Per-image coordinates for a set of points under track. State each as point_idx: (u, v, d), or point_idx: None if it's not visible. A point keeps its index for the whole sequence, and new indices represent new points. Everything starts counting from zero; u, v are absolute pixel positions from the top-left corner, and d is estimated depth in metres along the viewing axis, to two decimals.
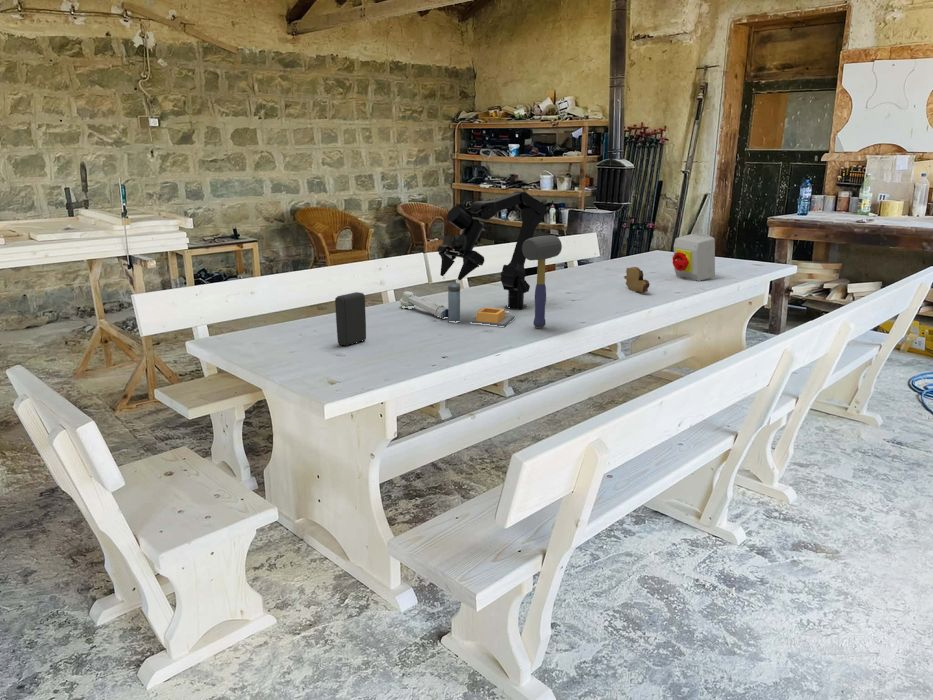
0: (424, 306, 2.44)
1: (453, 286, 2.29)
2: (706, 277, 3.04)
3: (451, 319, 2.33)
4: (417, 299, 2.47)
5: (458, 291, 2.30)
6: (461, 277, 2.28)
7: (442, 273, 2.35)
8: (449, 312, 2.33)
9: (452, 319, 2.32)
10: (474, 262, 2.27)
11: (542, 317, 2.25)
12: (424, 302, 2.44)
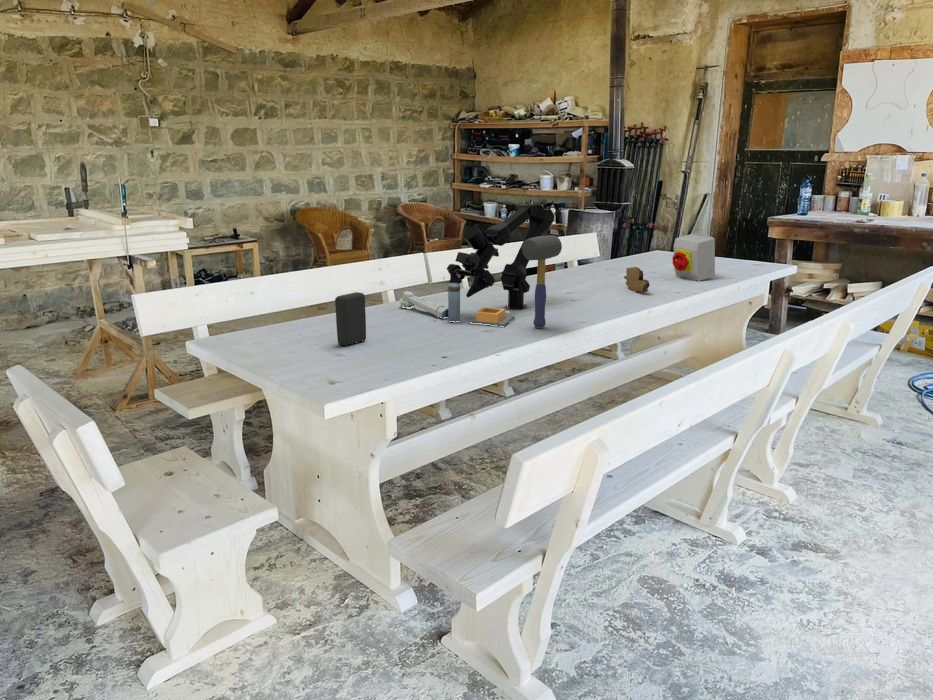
0: (424, 306, 2.43)
1: (453, 286, 2.29)
2: (706, 277, 3.04)
3: (451, 319, 2.33)
4: (417, 299, 2.47)
5: (458, 291, 2.30)
6: (470, 295, 2.30)
7: None
8: (449, 312, 2.33)
9: (452, 319, 2.32)
10: (485, 281, 2.30)
11: (542, 317, 2.25)
12: (424, 302, 2.44)
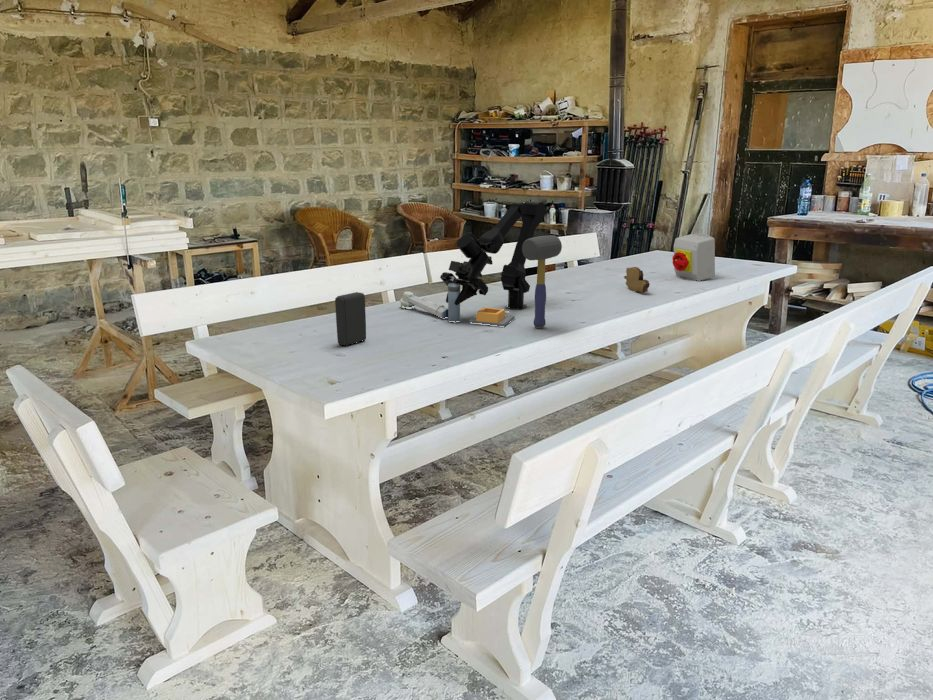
0: (424, 306, 2.43)
1: (453, 286, 2.29)
2: (706, 277, 3.04)
3: (451, 319, 2.33)
4: (417, 299, 2.47)
5: (458, 291, 2.30)
6: (458, 303, 2.31)
7: None
8: (449, 312, 2.33)
9: (452, 319, 2.32)
10: (473, 289, 2.30)
11: (542, 317, 2.25)
12: (424, 302, 2.44)
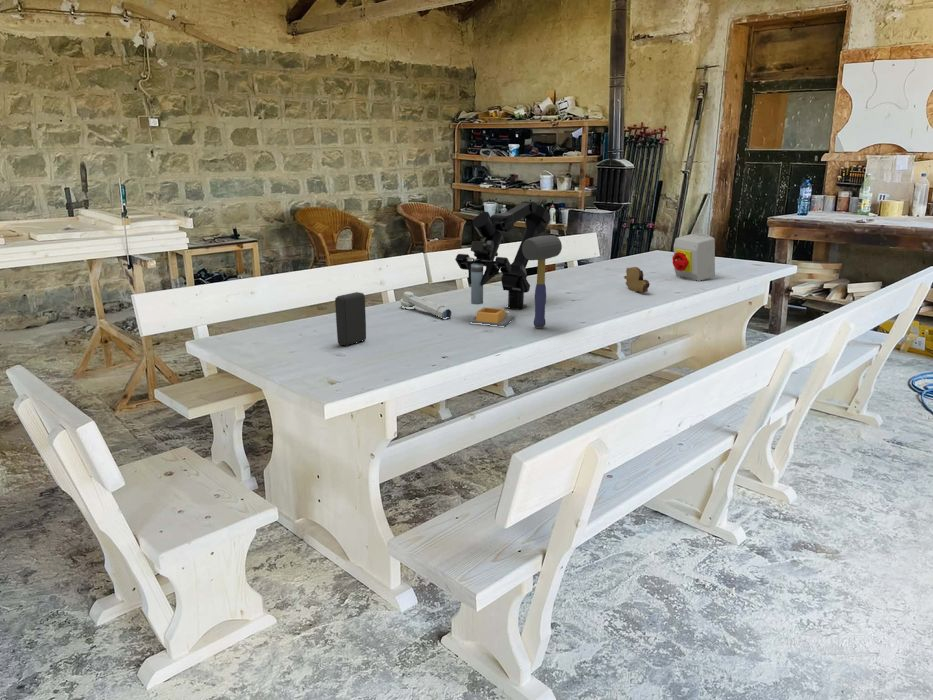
0: (425, 306, 2.43)
1: (478, 266, 2.26)
2: (706, 277, 3.04)
3: (476, 300, 2.29)
4: (418, 299, 2.47)
5: (482, 271, 2.27)
6: (483, 283, 2.28)
7: (470, 281, 2.29)
8: (473, 293, 2.29)
9: (477, 300, 2.29)
10: (497, 268, 2.29)
11: (542, 317, 2.25)
12: (425, 302, 2.44)
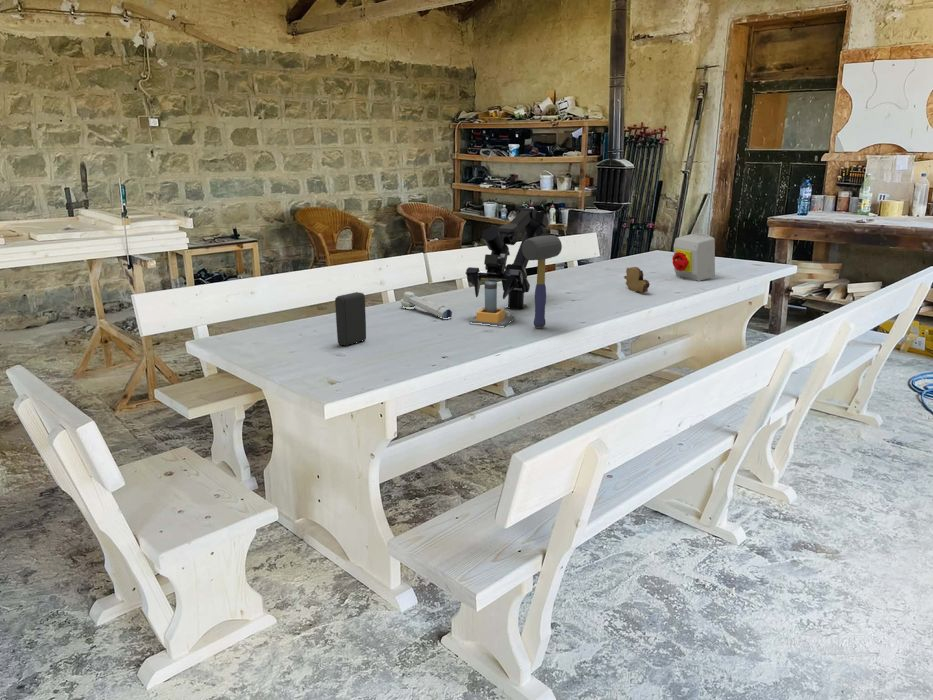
0: (425, 306, 2.43)
1: (493, 283, 2.27)
2: (706, 277, 3.04)
3: None
4: (418, 299, 2.47)
5: (496, 288, 2.29)
6: (505, 296, 2.29)
7: (477, 294, 2.31)
8: (488, 310, 2.30)
9: None
10: (516, 281, 2.30)
11: (542, 317, 2.25)
12: (425, 302, 2.44)
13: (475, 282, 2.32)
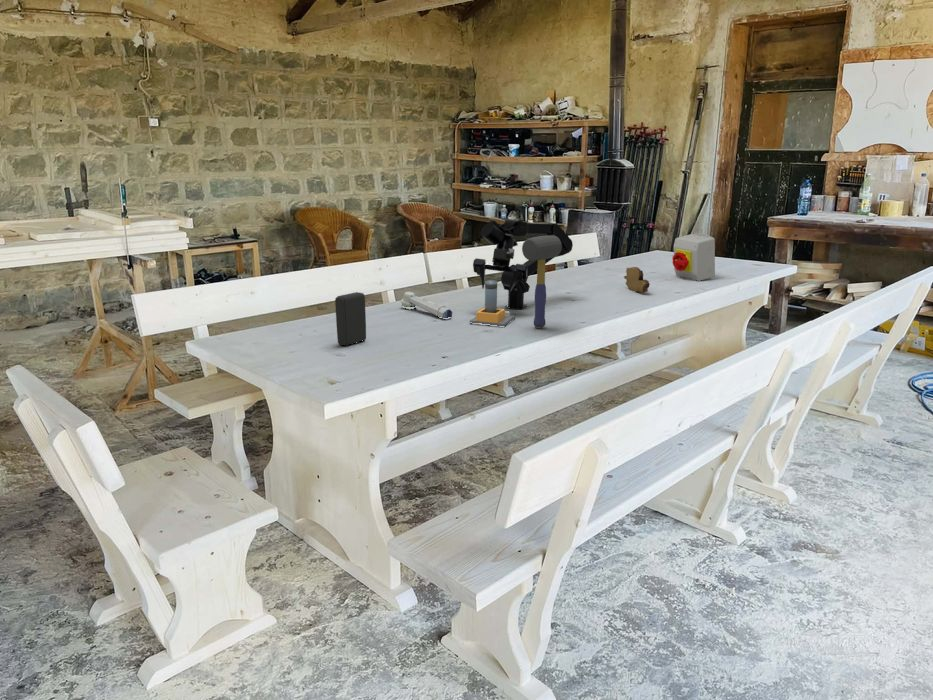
0: (426, 306, 2.43)
1: (493, 283, 2.27)
2: (706, 277, 3.04)
3: None
4: (418, 299, 2.46)
5: None
6: (511, 290, 2.38)
7: (483, 286, 2.39)
8: (488, 310, 2.30)
9: None
10: (522, 275, 2.40)
11: (542, 317, 2.25)
12: (425, 302, 2.44)
13: (482, 274, 2.39)
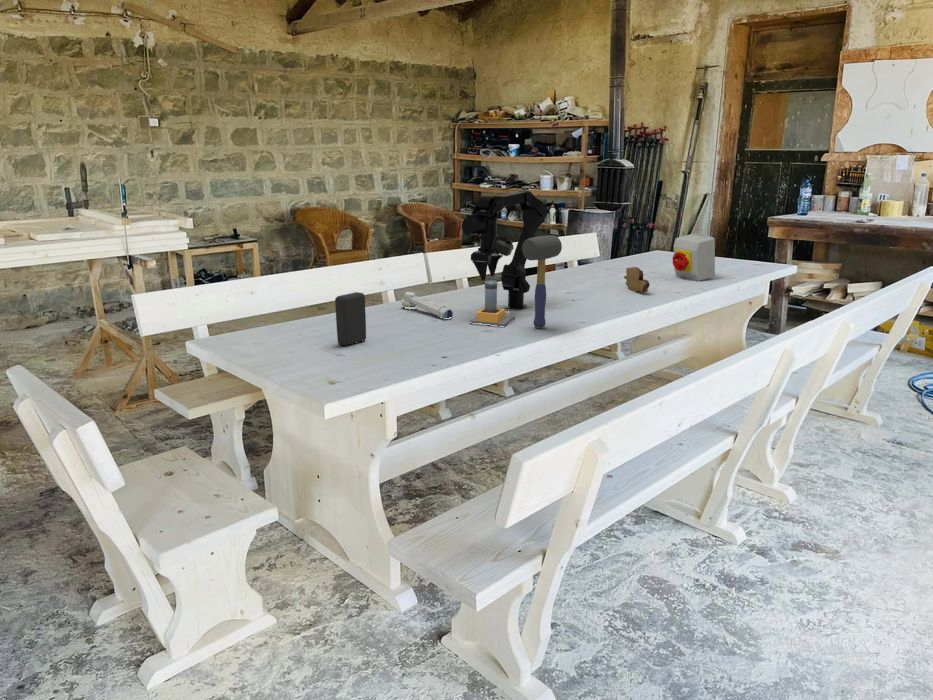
0: (426, 306, 2.43)
1: (493, 283, 2.27)
2: (706, 277, 3.04)
3: None
4: (419, 300, 2.46)
5: (496, 288, 2.29)
6: None
7: None
8: (488, 310, 2.30)
9: None
10: None
11: (542, 317, 2.25)
12: (426, 303, 2.43)
13: (486, 267, 2.34)
